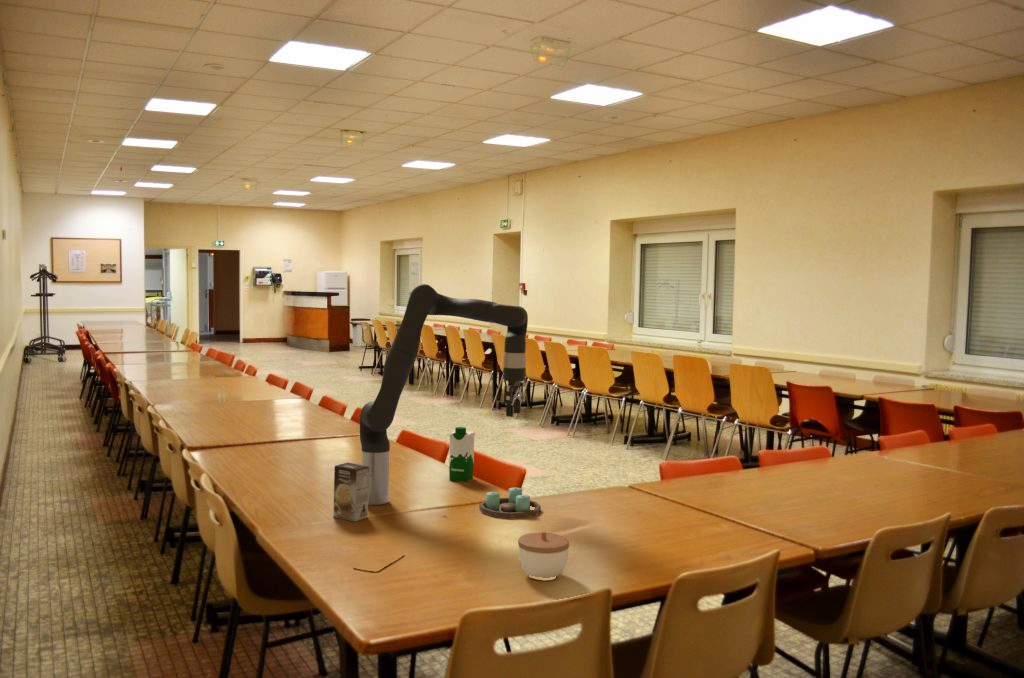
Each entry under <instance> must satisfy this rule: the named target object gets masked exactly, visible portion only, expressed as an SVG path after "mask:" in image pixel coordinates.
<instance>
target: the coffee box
mask: <svg viewBox="0 0 1024 678" xmlns="http://www.w3.org/2000/svg"><path fill="white" fill-rule="evenodd" d="M333 471H334V473H333V474H334V477H333V478H334V479H333V481H334V483H333V518H337V519H341V520H346V521H350V522H354V521H355V522H357V521H360V520H364V519H367V518H368V512H369V510H368V509H369V508H368V507H369V505H368V481H369V466H364V465H361V464H359V463H352V462H344V463H340V464H336V465H334V470H333Z"/></svg>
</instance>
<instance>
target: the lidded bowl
mask: <svg viewBox="0 0 1024 678" xmlns="http://www.w3.org/2000/svg"><path fill="white" fill-rule="evenodd" d="M517 544H518V545H517V546H518V559H519V563H520V567H521V568H522V570H523V571H524V572H525V573H526V574H527V575H528V574H529V575H531V576H535V577H542V578H550V577H555V576H557V577H558V576H560V574H562V573H563V571H564V570H565V568H566V565H567V563H568V560H569V547H570V541H569V539H568V538H567V537H566V536H564V535H561V534H556V533H551V532H547V531H541V532H529V533H525V534H523V535H521V536H519V537H518V539H517Z"/></svg>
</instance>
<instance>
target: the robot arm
mask: <svg viewBox="0 0 1024 678" xmlns="http://www.w3.org/2000/svg"><path fill="white" fill-rule="evenodd" d="M428 316H450V317H455V318H456V317H458V318H463V319H469V320H473V321H477V322H484V323H489V324H491V323H492V324H496V325H501V326H505V327H507V329H506V335H505V338H504V349H503V351H504V353H503V364H502V365H503V366H502V367H503V368H502V380H503V381H505V382H507V384H505V385H504V389H503V390H504V391H503V392H504V393H503V404H505V408H506V410H505V415H506V417H510V418H511V417H513V416H514V414H520V413H521V403H522V401H523V399H524V382H525V380H526V379H527V378H526V375H527V374H526V373H527V372H526V371H527V370H526V369H527V357H526V347H527V343H526V341H527V340H526V337H527V330H528V323H529V322H528V321H529V317H528V311H527V310H526V309H525V308H524V307H522V306H519V305H508V304H501V303H497V302H495V301H489V300H483V299H479V298H478V299H477V298H455V297H449V296H447V295H443V294H441V293H438V291H436V289H434V288H433V287H432V286H431V285H430V284H426V283H422V284H419V285H417V286H415V287H414V288H413V289H412V291H411V292H410V295H409V298H408V300H407V304H406V308H405V312H404V315H403V317H402V320H401V323H400V325H399V326H398V327H399V328H398V330H397V332H396V334H395V337H394V339H393V341H392V343H391V346H390V348H389V351H388V352H387V356H386V358H385V361H384V365H383V372H382V379H381V385H380V388H379V390H378V393H377V395H376V397H375V400H374V401H372V400H371V401H369V402H367V403H365V404H364V405H363V406H362V408H361V410H360V414H359V441H360V444H361V457H360V458H361V462H360V463H361V464H360V465H364V466H369V481H368V506H379V505H384V504H388V503H389V502H390V500H389V499H390V459H391V458H390V452H391V451H390V450H391V445H390V441H389V439H388V432H387V429H389V427H391V425H392V424H393V421H394V418H395V415H396V411H397V408H398V404H399V401H400V398H401V394H402V393H403V391H404V388H405V385H406V384H407V382H408V378H409V376H410V374H411V372H412V369H413V367H414V364H415V362H416V359H417V357H418V353H419V350H420V345H421V336H422V331H423V327H424V325H425V322H426V319H427V317H428Z"/></svg>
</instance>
